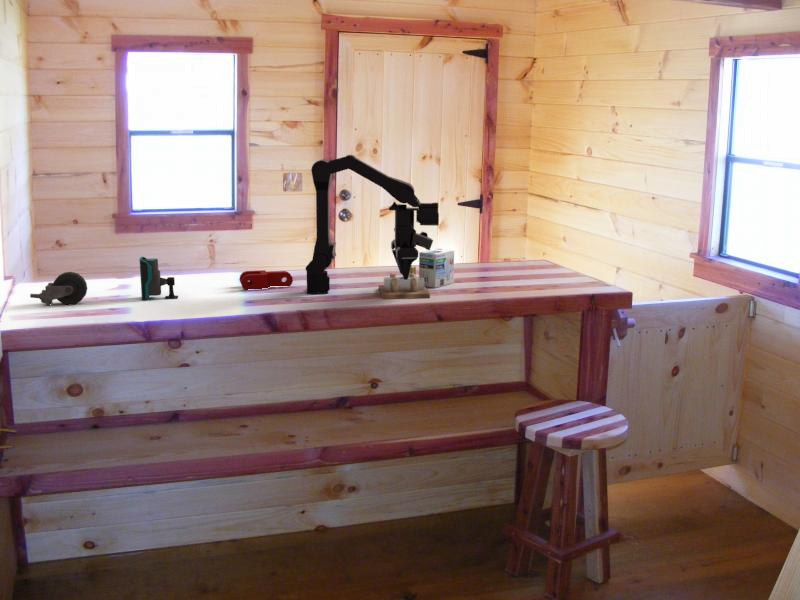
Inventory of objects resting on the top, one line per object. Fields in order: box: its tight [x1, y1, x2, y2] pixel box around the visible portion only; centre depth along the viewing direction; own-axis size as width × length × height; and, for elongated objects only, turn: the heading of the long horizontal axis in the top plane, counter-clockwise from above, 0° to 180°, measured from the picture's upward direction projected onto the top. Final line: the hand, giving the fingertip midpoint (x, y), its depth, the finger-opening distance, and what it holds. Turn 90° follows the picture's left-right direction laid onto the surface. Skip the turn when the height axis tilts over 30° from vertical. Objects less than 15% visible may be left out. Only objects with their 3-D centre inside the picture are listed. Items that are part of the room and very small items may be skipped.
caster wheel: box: [29, 271, 88, 307], centre depth 256 cm, size 6×10×15 cm
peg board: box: [378, 273, 431, 299], centre depth 275 cm, size 14×14×5 cm
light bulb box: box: [418, 247, 455, 289], centre depth 288 cm, size 11×7×11 cm, turn 143°
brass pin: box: [408, 265, 417, 277], centre depth 287 cm, size 2×2×6 cm
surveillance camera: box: [139, 256, 179, 301], centre depth 265 cm, size 6×12×10 cm
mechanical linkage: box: [239, 269, 294, 291], centre depth 282 cm, size 16×7×5 cm, turn 105°
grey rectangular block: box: [383, 276, 425, 291], centre depth 274 cm, size 12×3×4 cm, turn 96°
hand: (404, 276), depth 274 cm, fingers open, 9 cm apart
